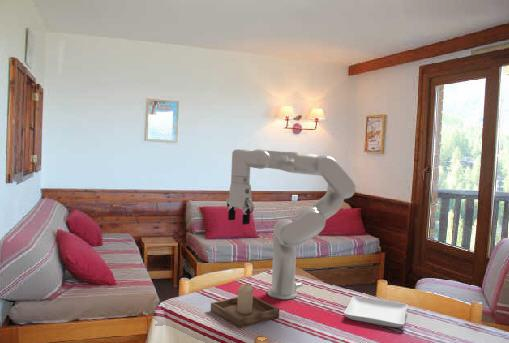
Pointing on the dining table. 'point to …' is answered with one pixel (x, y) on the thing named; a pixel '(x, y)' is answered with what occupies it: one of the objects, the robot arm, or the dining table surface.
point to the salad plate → (376, 311)
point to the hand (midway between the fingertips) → (238, 222)
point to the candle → (245, 299)
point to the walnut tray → (258, 314)
